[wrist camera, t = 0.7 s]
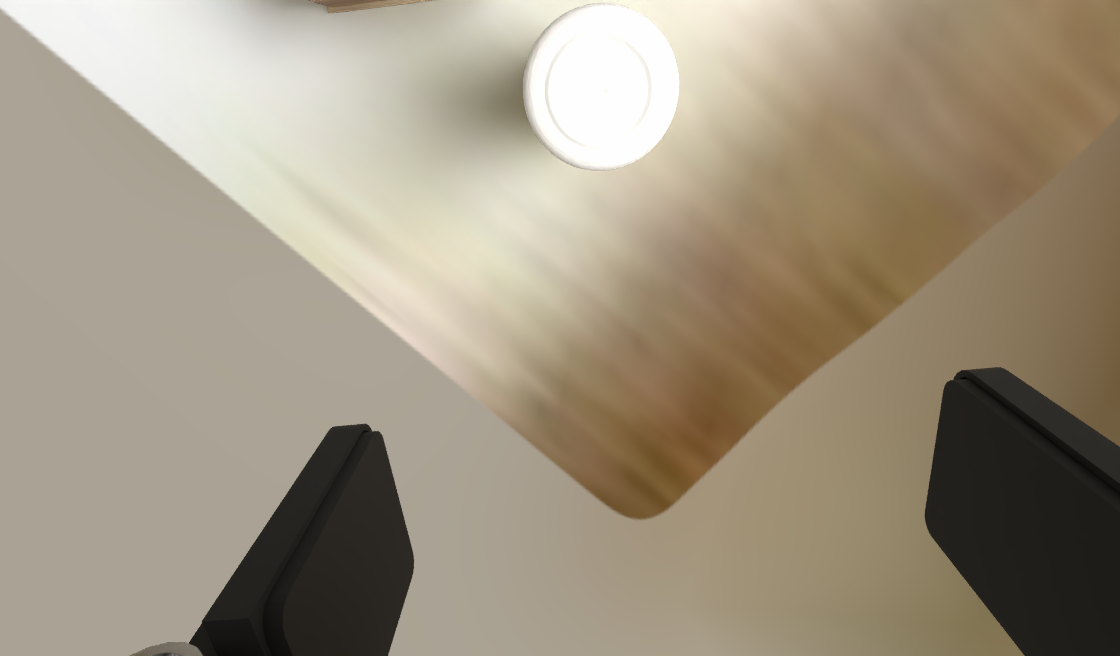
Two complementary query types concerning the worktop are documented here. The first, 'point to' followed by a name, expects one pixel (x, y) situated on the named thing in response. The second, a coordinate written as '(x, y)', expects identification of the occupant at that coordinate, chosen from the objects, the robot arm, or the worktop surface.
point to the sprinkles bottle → (600, 86)
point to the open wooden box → (360, 4)
